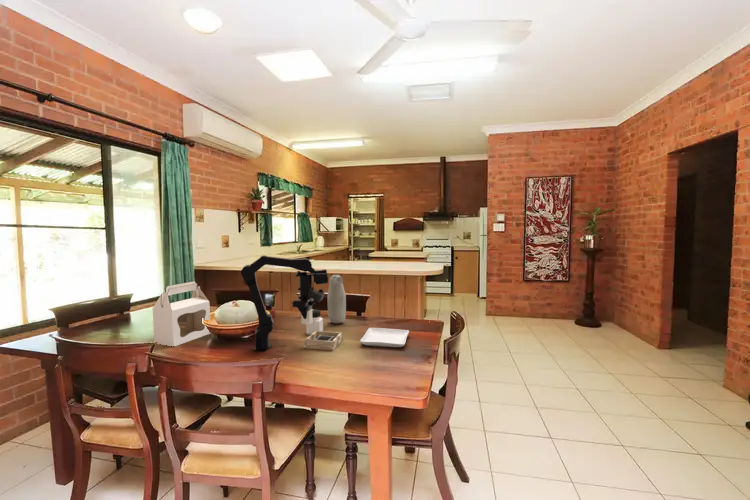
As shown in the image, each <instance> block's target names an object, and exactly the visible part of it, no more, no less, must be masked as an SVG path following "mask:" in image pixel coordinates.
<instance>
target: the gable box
mask: <svg viewBox="0 0 750 500" xmlns="http://www.w3.org/2000/svg"><path fill="white" fill-rule="evenodd" d="M164 289H165V290H164V292H162V293H160V296H159V297H158V299H157V301H156V302H155V304H154V306H153V307H152V322H153V325H152V327H153V340H154V341H153V343H154V342H158V343H157V344H156V345H160V344H161V346H166V345H167V346H166V347H171V346H172V347H173V346H175V347H178V346H180V345H182V344H185V343H188V342H191V341H193V340H194V341H195V340H196V339H200V338H202V337H205V336H207V335H210V334H211V333H210V332H209V330H208V329H207V327H206V326H205V325H203V324H202V318H204V320H210V321H211V310H210V309H211V308H210V307H211V305H210V300H209V299H208V297H207V296H206V295H205V293H204V292H203V290H201V287H200V286H198V283H196V281H193V280H192V281H188V282H181V283H177V284H171V285H167V286H166V287H165V288H164ZM186 292H187V293H188V292H192V294H191V297H190V298H185V299H182V300H177V301H173V302H171V301H170V298H169V296H172V295H176V294H177V295H178V294H182V293H186ZM182 315H186V316H185V323H186V325H185V326H184V327H180V326H179V323H178V319H179V317H181V316H182Z"/></svg>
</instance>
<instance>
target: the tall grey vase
mask: <svg viewBox="0 0 750 500" xmlns="http://www.w3.org/2000/svg"><path fill="white" fill-rule="evenodd" d="M343 281H344V279H343V277H342V276H341V275H340V274H332V275H331V276H330V278H329V287H328V291H327V315H328V316H327V317H328V319H329V321H330V322H331V323H332V324H335V325H336V324H337V325H338V324H341V323H343V322H344V321H345V319H346V314H347V294H346V292H345V287H344V283H343Z"/></svg>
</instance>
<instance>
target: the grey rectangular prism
mask: <svg viewBox="0 0 750 500" xmlns="http://www.w3.org/2000/svg"><path fill="white" fill-rule="evenodd" d="M312 310H313V306H312V305H310V306H309V307H308V308H307V318H306V319H304V318H303V316H302V314H301V313H300V316H301V317H300V318H301V319H300V320H301V324H302V325H306V324H310V323H312V322H313V317H312Z"/></svg>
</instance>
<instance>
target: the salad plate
mask: <svg viewBox="0 0 750 500" xmlns="http://www.w3.org/2000/svg"><path fill="white" fill-rule="evenodd" d="M409 333H410V330H408V329H398V328H385V327H384V328H383V327H368V329H367V330H366V332H365V333H364V334H363V336H362V337H361V339H360V340H359V343H360V344H362V345H365V346H370V347H382V348H402V347H404V346H405V344H406V341H407V338H408V335H409Z"/></svg>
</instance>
